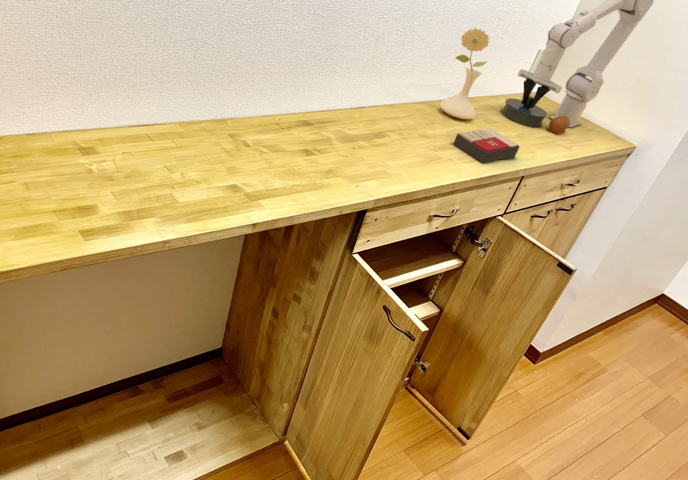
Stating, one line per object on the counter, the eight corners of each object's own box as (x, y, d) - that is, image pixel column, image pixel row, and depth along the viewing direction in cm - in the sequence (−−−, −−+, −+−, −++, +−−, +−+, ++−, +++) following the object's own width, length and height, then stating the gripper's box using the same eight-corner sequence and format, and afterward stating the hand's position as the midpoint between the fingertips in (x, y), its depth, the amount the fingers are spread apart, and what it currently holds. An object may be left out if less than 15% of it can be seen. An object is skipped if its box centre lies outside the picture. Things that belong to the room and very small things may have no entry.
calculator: (457, 131, 155) (491, 125, 163) (451, 145, 158) (485, 139, 166) (487, 150, 149) (521, 143, 157) (481, 165, 151) (515, 157, 159)
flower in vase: (477, 118, 180) (513, 37, 165) (466, 125, 172) (503, 41, 157) (440, 102, 184) (472, 22, 169) (427, 109, 176) (460, 25, 161)
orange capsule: (554, 125, 193) (561, 112, 190) (567, 132, 190) (574, 118, 188) (543, 129, 187) (551, 115, 184) (557, 135, 185) (564, 122, 182)
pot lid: (515, 99, 197) (521, 86, 194) (552, 116, 191) (558, 104, 188) (497, 103, 188) (503, 90, 185) (534, 122, 181) (541, 108, 179)
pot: (512, 108, 198) (517, 98, 196) (545, 124, 192) (551, 114, 190) (495, 112, 190) (500, 102, 188) (529, 129, 184) (535, 119, 182)
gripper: (522, 56, 181) (503, 97, 189) (563, 74, 174) (542, 116, 182) (531, 55, 185) (512, 95, 194) (572, 72, 179) (550, 113, 187)
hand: (527, 105), depth 188 cm, fingers closed
